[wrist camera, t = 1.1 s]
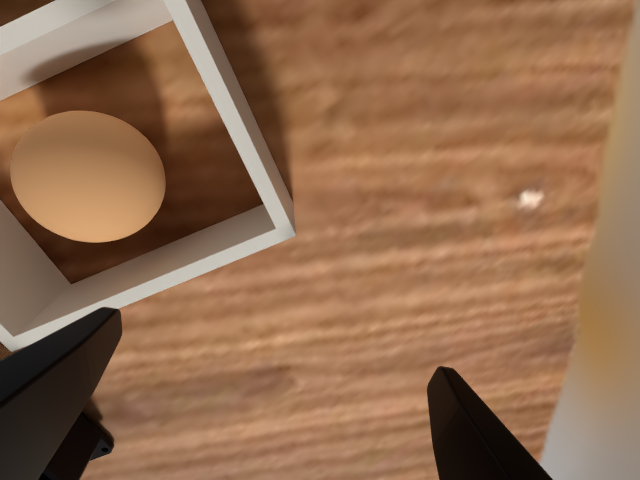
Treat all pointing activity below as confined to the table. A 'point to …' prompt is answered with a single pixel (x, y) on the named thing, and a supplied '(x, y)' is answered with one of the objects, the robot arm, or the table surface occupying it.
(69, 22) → the grey rectangular frame
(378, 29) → the table surface
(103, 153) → the ball
